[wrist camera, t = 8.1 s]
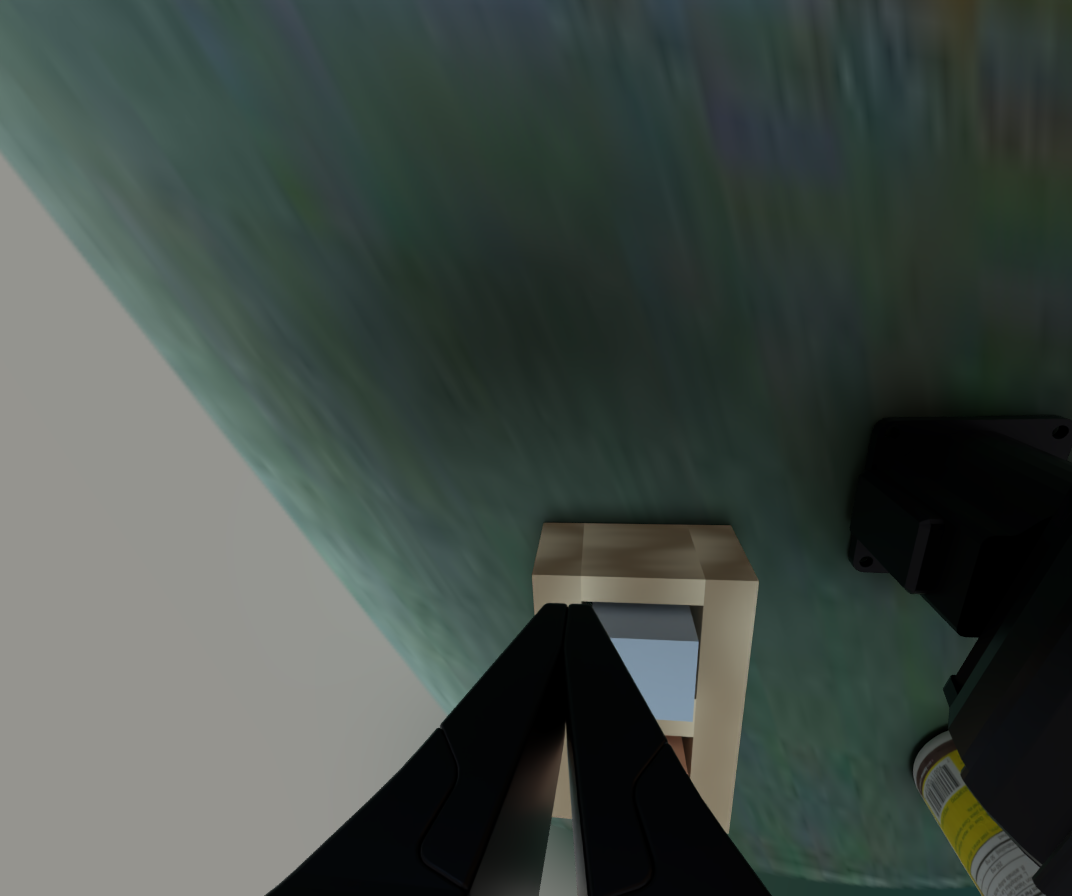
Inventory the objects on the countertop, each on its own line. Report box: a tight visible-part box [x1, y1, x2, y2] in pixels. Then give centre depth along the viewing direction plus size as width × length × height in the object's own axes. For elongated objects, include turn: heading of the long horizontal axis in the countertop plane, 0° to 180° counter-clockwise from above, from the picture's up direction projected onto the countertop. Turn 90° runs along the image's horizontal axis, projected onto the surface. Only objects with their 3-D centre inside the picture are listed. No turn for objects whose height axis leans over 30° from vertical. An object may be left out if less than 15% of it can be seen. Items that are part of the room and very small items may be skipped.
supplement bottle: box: [913, 730, 1046, 896], centre depth 19 cm, size 6×6×10 cm
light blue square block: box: [592, 602, 699, 722], centre depth 19 cm, size 4×4×3 cm
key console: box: [532, 523, 759, 833], centre depth 22 cm, size 8×13×4 cm, turn 3°
